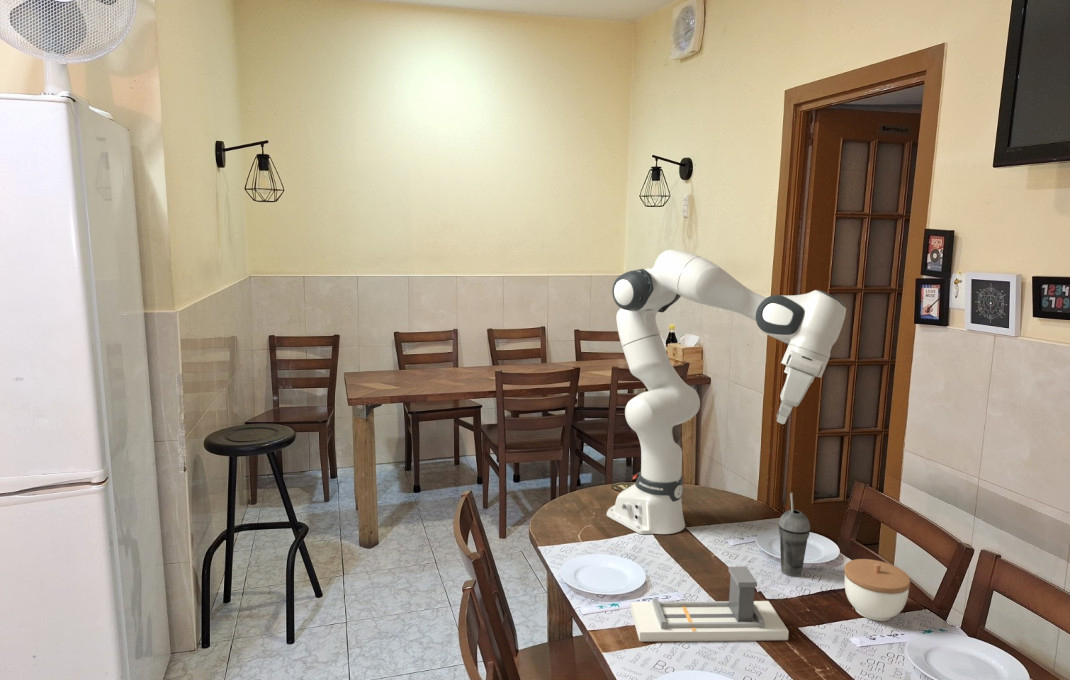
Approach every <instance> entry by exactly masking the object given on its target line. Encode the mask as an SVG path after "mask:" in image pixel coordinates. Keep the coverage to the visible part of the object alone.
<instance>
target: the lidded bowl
mask: <svg viewBox="0 0 1070 680" xmlns="http://www.w3.org/2000/svg"><path fill="white" fill-rule="evenodd" d="M843 571H844V581H843V582H844V591H845V594H846V598H847V600H848V601H849V603H850V605H852V607H853V608H854V610H855V612H856V613H858V615H860V616H862V617H863V618H865V619H868V620H871V621H876V622H886V621H889V620H891V619H892V618H894V617H896V616H898V615H900V614H899V613H901V612H902V611H903V610H904V608H905V606H906V603H907V601H908V597H909V592H910V590H909V589H910V587H911V578H910V577H909V575H908V574H907V573H906V571H904V570H903V569H901V568H899V567H897V566H895V565H892V564H891V563H888V562H884V561H881V560H877V559H870V558H869V559H868V558H857V559H856V558H855V559H852V560H848V561H847V562H846V564H845V565H844V568H843Z"/></svg>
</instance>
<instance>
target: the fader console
mask: <svg viewBox="0 0 1070 680" xmlns="http://www.w3.org/2000/svg"><path fill="white" fill-rule="evenodd" d="M630 612H631V615H632V616H631V617H632V619H633V623H634V626H635V630H636V634H637V638H638V640H639V642H641V643H642V642H719V641H720V642H723V641H724V642H726V641H728V642H730V641H731V642H732V641H733V642H736V641H737V642H739V641H740V642H741V641H745V642H746V641H789V630H788V627H786V625H785V623H784V622H783V619H781V618H780V616H779V614H778V613H777V611H776V610H775V608H774V607H773V605H772V604H771V603H770V601H769V600H754V605H753V621H752V622H737V620H736V619H735V617H734V615H733V613H732V611H731V610H730V608H729V600H727V601H726V600H725V601H723V600H721V601H719V600H718V601H713V600H711V601H659V599H658V598H655V597H654V598H652V601H632V602H630Z"/></svg>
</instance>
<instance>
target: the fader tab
mask: <svg viewBox="0 0 1070 680" xmlns="http://www.w3.org/2000/svg"><path fill="white" fill-rule="evenodd" d="M728 572H729V574H730V579H729V597H728V601H729V608H730V610H731V611H732V613H733V615H734V617H735V619H736V620H737V622H752V621H753V605H754V601H755V600H754V599H755V588H757V587H758V581H757V580H756V578H755V576H754V575H753V574H752V572H751V571H750V569H749V568H748V566H728Z"/></svg>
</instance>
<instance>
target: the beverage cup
mask: <svg viewBox="0 0 1070 680" xmlns="http://www.w3.org/2000/svg"><path fill="white" fill-rule="evenodd" d="M789 496H790V509H789V510H787V511H785V512H784V513H783V514H782V515H781V516H780V517H779V521H778V524H777V525H778V532H779V540H780V541H779V542H780V543H779V544H780V568H781V570H780V572H781V573H782V574H784V575H786V576H787V577H791V578H797V577H801V575H802V571H803V568H804V567H803V566H804V562H805V556H806V550H807V543H808V539H809V536H810V532H811V530H812V529H811V525H810V521H809V518H808V517H807V516H806V514H804V513H803V512H802V511H799V510H797V509H794V499H793V498H794V497H793V496H794V495H793V492H790V493H789Z"/></svg>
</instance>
